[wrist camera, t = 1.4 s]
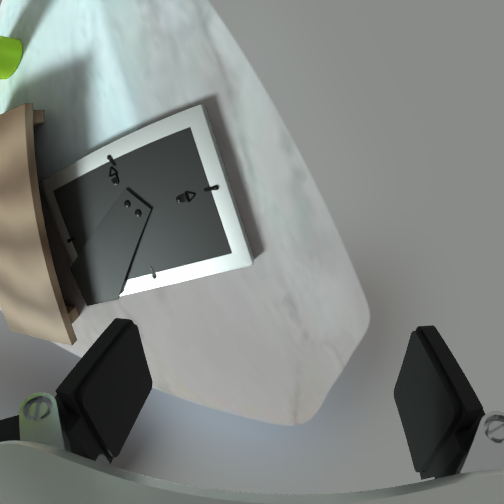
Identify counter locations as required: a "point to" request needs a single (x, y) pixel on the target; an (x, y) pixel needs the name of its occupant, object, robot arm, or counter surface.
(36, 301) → the walnut shelf
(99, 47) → the counter surface
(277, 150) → the counter surface
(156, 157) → the picture frame
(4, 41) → the soap dispenser
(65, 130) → the counter surface
